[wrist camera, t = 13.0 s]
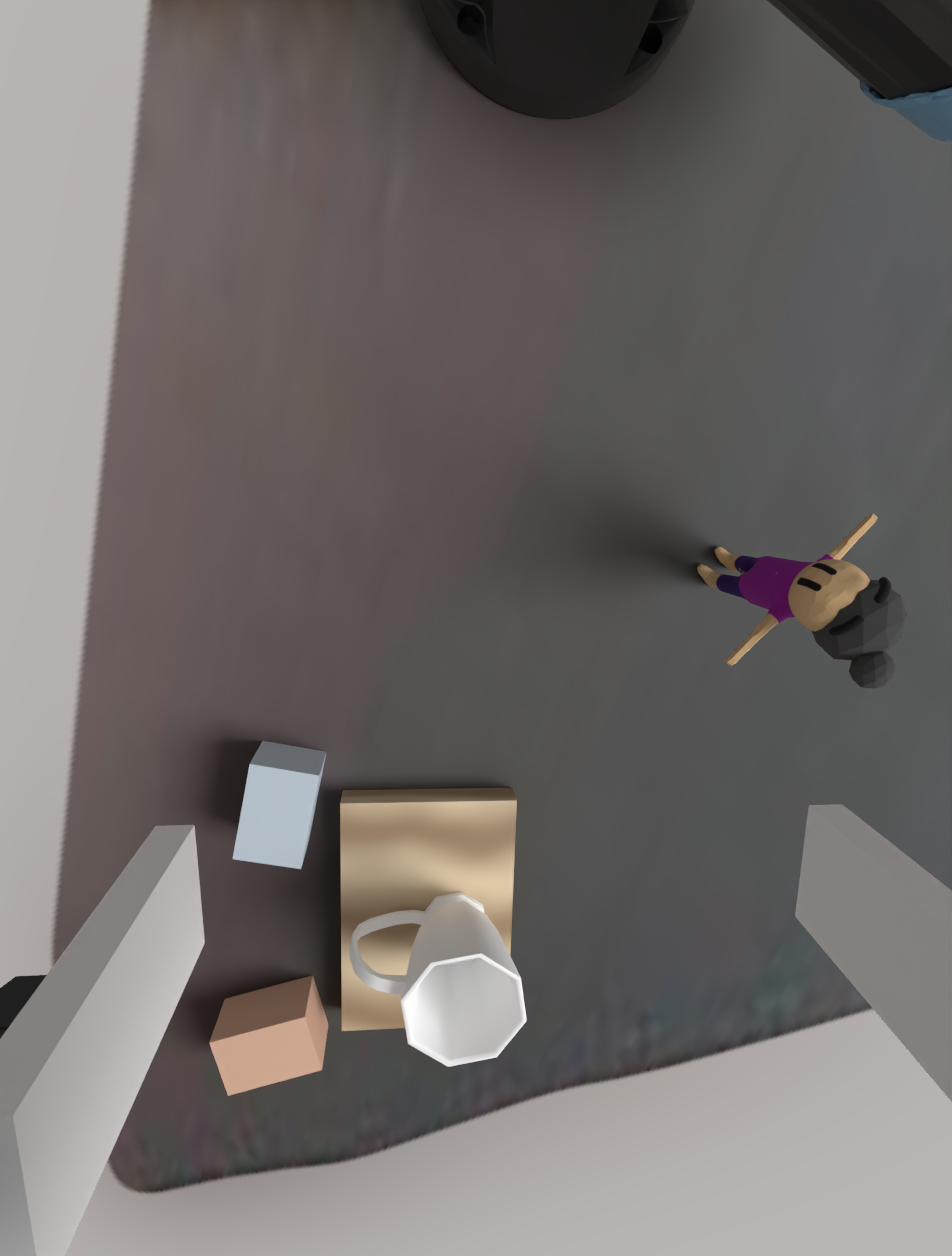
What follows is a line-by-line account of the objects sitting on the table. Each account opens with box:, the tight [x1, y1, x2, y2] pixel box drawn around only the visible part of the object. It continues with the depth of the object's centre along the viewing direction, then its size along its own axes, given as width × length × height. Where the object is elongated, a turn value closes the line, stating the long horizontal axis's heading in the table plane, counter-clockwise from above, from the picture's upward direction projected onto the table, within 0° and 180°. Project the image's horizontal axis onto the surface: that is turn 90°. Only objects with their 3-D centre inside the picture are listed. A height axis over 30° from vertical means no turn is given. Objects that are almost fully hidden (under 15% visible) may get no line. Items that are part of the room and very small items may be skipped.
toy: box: [697, 514, 907, 688], centre depth 38 cm, size 10×6×15 cm, turn 136°
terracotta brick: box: [209, 975, 328, 1096], centre depth 46 cm, size 6×4×4 cm, turn 103°
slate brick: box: [233, 741, 326, 869], centre depth 43 cm, size 6×4×4 cm, turn 167°
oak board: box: [340, 788, 517, 1031], centre depth 46 cm, size 16×11×2 cm
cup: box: [350, 892, 527, 1067], centre depth 41 cm, size 7×10×8 cm
